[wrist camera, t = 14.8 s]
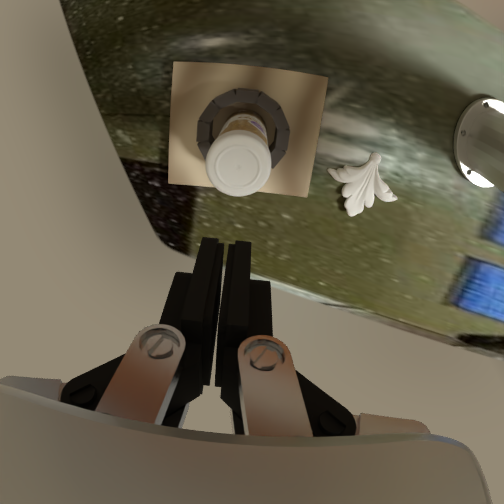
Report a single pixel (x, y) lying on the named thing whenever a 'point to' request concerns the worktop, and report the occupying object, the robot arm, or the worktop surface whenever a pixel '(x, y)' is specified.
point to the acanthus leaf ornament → (362, 185)
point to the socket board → (248, 98)
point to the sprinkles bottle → (240, 155)
